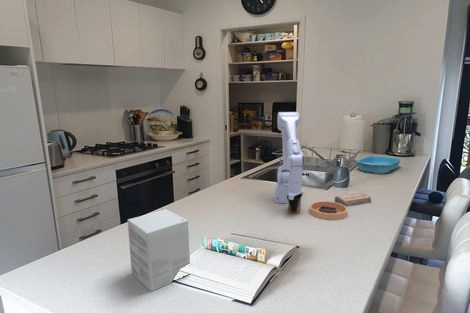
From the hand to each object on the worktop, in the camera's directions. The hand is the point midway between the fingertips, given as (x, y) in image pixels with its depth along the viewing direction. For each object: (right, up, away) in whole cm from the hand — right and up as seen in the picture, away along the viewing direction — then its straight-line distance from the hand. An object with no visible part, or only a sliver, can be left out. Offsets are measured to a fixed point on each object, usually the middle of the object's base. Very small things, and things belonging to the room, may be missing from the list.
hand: (294, 210), depth 143 cm
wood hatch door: (0, -2, 0) cm, 2 cm away
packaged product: (+30, 0, +11) cm, 32 cm away
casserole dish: (+73, +15, +80) cm, 109 cm away
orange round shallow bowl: (+14, -2, -2) cm, 15 cm away
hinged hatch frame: (+14, -1, -2) cm, 15 cm away
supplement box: (-49, -12, -46) cm, 68 cm away
